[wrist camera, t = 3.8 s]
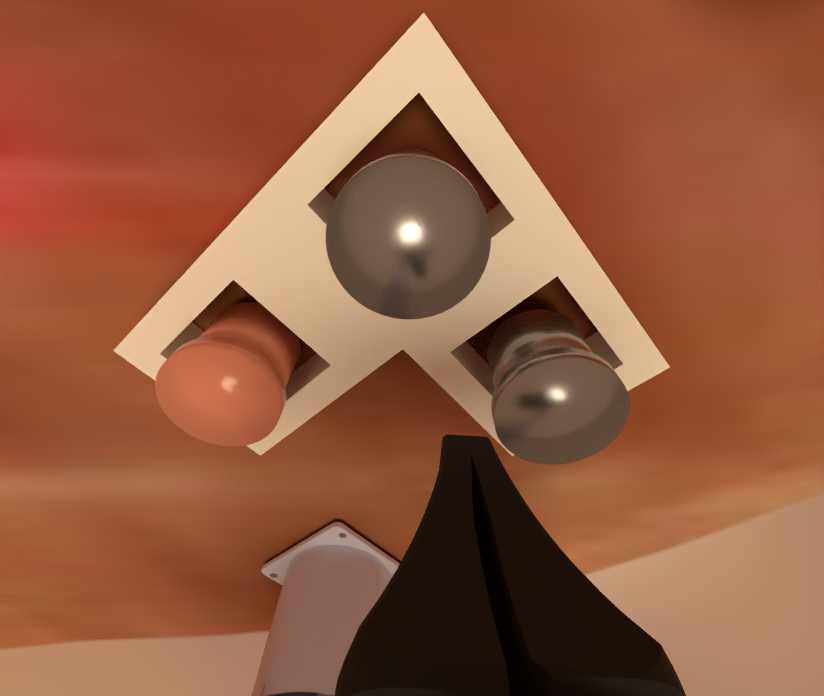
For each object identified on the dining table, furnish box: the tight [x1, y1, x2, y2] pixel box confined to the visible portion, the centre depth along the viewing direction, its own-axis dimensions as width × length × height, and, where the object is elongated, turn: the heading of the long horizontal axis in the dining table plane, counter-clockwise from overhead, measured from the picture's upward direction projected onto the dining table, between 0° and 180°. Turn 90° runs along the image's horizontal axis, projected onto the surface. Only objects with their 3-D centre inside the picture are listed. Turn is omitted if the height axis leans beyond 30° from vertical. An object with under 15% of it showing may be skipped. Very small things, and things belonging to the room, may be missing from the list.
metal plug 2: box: [487, 309, 630, 464], centre depth 17 cm, size 5×5×4 cm
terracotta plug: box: [155, 302, 301, 447], centre depth 18 cm, size 5×5×4 cm
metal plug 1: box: [326, 149, 491, 319], centre depth 14 cm, size 5×5×4 cm
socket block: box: [114, 13, 669, 456], centre depth 20 cm, size 16×18×3 cm
